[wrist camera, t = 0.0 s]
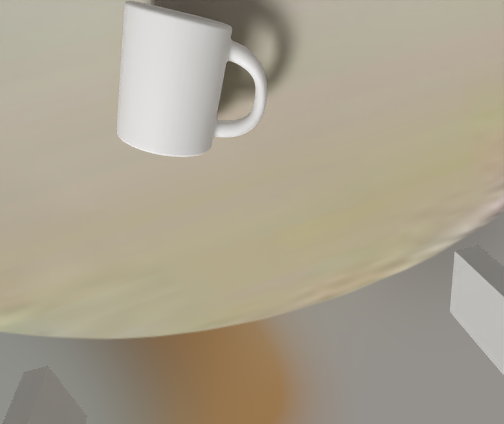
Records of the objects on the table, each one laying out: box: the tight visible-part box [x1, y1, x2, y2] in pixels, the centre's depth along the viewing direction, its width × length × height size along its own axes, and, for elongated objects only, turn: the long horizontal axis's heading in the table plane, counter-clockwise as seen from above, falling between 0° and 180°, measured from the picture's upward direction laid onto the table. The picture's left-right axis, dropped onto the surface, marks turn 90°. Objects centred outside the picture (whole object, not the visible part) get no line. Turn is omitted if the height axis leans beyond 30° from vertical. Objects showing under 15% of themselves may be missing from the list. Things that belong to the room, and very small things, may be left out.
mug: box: [117, 1, 267, 157], centre depth 31 cm, size 12×10×8 cm
